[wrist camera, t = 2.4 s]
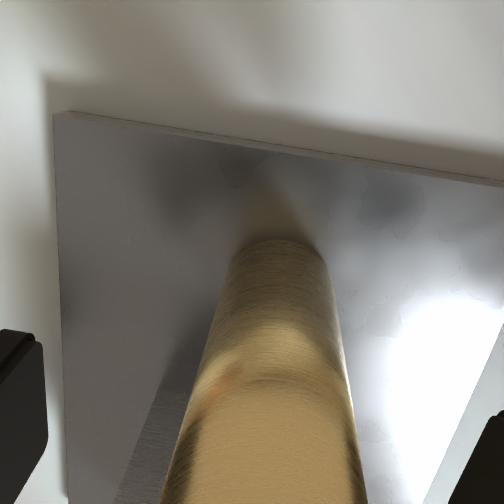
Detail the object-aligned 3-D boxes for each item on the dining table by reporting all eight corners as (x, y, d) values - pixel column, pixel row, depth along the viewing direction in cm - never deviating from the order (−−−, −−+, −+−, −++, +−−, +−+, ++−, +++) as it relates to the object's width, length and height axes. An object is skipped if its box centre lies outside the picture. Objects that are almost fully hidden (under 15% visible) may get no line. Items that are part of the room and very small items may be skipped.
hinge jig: (542, 187, 14) (806, 339, 7) (381, 561, 22) (424, 814, 15) (67, 110, 14) (-163, 178, 7) (78, 508, 22) (-25, 731, 15)
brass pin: (344, 249, 14) (427, 595, 5) (320, 341, 16) (354, 733, 7) (232, 230, 14) (126, 542, 5) (219, 324, 16) (120, 690, 7)
